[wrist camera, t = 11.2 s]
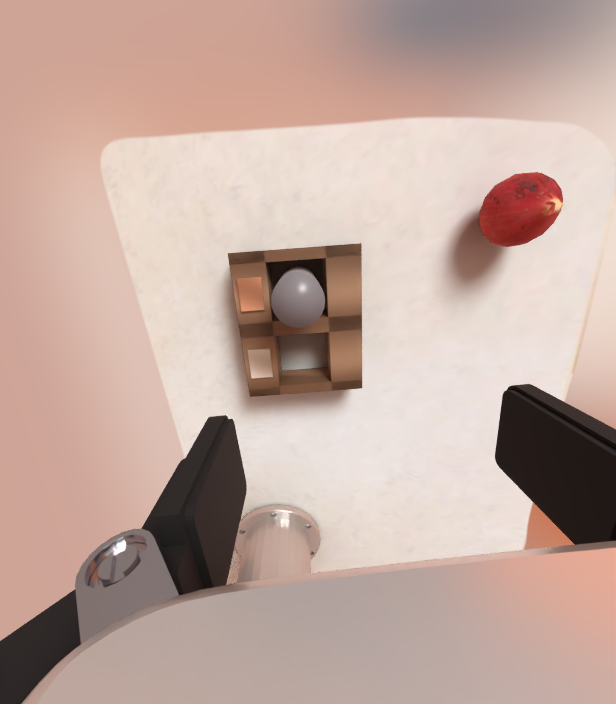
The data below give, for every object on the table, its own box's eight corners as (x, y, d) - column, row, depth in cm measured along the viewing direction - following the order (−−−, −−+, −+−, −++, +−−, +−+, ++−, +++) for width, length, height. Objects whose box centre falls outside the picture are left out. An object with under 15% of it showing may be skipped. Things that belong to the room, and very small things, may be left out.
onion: (454, 203, 28) (510, 185, 21) (510, 170, 28) (590, 141, 20) (472, 256, 30) (530, 259, 23) (525, 227, 29) (604, 220, 22)
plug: (318, 302, 31) (326, 325, 22) (281, 305, 31) (274, 329, 22) (315, 264, 30) (323, 271, 21) (277, 267, 30) (268, 275, 20)
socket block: (355, 372, 34) (362, 389, 30) (255, 380, 34) (249, 398, 30) (353, 244, 29) (362, 243, 25) (236, 252, 29) (226, 253, 25)
